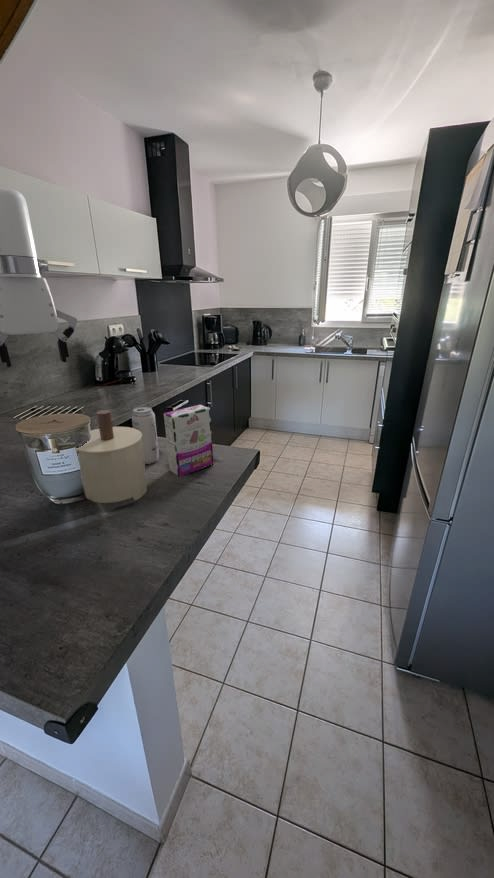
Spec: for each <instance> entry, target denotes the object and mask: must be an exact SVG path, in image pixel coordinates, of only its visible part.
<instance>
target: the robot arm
mask: <svg viewBox="0 0 494 878" xmlns="http://www.w3.org/2000/svg"><path fill="white" fill-rule="evenodd" d="M44 272H49V263H46V262H45V263H44V262H41V260H39V258H38V254H37V247H36V242H35V237H34V233H33V228H32V223H31V218H30V212H29V208H28V204H27V200H26V198H25V196H24V194H23V193H21V192H20V191H18V190H16V189H14V188H11V187H8V186H2V185H0V361H1V363H3V364H4V363H6V367H7V368H11V367H12V361H11V359H10V354H9V350H8V347H7V344H5V341H6V340H7V339H8V337H9V336H11V335H12V336H14V335H15V336H16V335H36V334H51V333H52V334H53V336H55V337H56V338H57V340H58V341H56V344H57V348H58V353H59V359H60V361H61V362H63V363H67V358H70V355H69V349H68V343H67V342H68V340H69V339H70V337H71V336H72V335H73V334H74V332H75V328H76V326H77V324H78V323H77V322H78V319H77V318H76V317H74V316H72V315H69V314H67V313H65V312H63V311H60V310H59V309H56V307H55V303H54V299H53V296H52V293H51V289H50V286H49V284H48V281H47V279H46V278H45V277H42V274H43V273H44ZM59 319H60V320H61V319H62V320H63V321H66V322H67V326H66V328H65V329H64V330H63V331H61V330H59V329H60V325H59Z"/></svg>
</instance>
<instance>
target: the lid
mask: <svg viewBox="0 0 494 878" xmlns="http://www.w3.org/2000/svg"><path fill="white" fill-rule="evenodd" d="M95 414H96V420H97V426H98V428H95V429H91V430H89V431H90V434H91V439H90V440H89V441H87V443H85V444H84V445H83V446H81V447H79V448H75V449H76V451H77V452H81V453H87V454H104V453H111V452H117V451H121V450H124V449H127V448H130V447H132V446H134V445H136V444H137V443H139V442H140V441H141V439H142V433H141V432H140V431H139V430H137V429H134V428H133V427H129V426H113V419H112V413H111V410H109V409H102V410H98V411H96V412H95ZM76 451H75V452H76Z"/></svg>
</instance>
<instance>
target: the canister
mask: <svg viewBox="0 0 494 878" xmlns="http://www.w3.org/2000/svg"><path fill="white" fill-rule="evenodd" d="M78 459H79V466H80V471H79V474H80V473H81V476H80V480H81V479H82V481H81V486H82V485H83V486H82V490H83V494H84V496H85V498H86V499H87V500H89V501H91V502H93V503H100V504H109V503H111V504H112V503H119V502H123V501H127V500H129V499H133V500H134V501H135V502H136V501H137V500H139V499H141V498H142V497H143V496H144V495H145V494H146V493H147V491H148V480H147V471H146V465H145V462H144V454H143V446H142V439H141V441H140V442H139V443H137V444H136V445H134V446H132V447H130V448H127V449H124V450H121V451H117V452H111V453H104V454H87V453H81V452H79V453H78ZM79 466H78V467H79ZM125 505H127V503H125V504H123V505H121V507H122V506H125Z"/></svg>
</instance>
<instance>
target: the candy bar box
mask: <svg viewBox="0 0 494 878" xmlns="http://www.w3.org/2000/svg"><path fill="white" fill-rule="evenodd" d="M211 415H212V414H211V408H210V407H209V406H206V405H203V404H197V405H193V406H188V407H185V408H181V409H180V408H179V409H176V410H175V409H174V410H171V411H168V412H164V413H163V420H164V421H163V422H164V430H165V438H166V448H167V449H166V450H167V457H168V458H167V459H168V465H169V466H168V467H169V471H170V472H171V473H173V474H174V475H176V476H177V477H181V476H184V475H189V474H188V473H191V472H193V471H195V470H198V469H201V468H203V467H205V466H208V465H211V464H213V465H214V451H213V450H214V449H213V436H212V435H213V433H212V432H213V431H212V418H211V417H212V416H211ZM201 470H202V469H201ZM193 473H194V472H193ZM191 474H192V473H191Z"/></svg>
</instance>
